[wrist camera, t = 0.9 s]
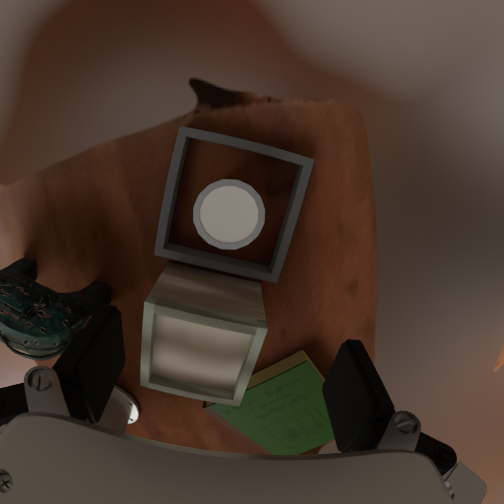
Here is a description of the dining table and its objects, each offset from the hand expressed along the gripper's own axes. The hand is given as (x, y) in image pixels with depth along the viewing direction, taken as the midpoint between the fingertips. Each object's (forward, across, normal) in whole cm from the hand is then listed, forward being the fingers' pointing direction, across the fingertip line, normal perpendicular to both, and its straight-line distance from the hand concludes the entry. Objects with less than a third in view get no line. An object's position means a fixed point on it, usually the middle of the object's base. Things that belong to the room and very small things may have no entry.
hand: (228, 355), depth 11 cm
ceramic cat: (+24, +25, +13) cm, 37 cm away
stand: (+24, +2, +14) cm, 27 cm away
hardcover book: (+24, -14, +33) cm, 43 cm away
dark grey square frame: (+24, +1, -1) cm, 24 cm away
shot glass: (+24, +1, -1) cm, 24 cm away
